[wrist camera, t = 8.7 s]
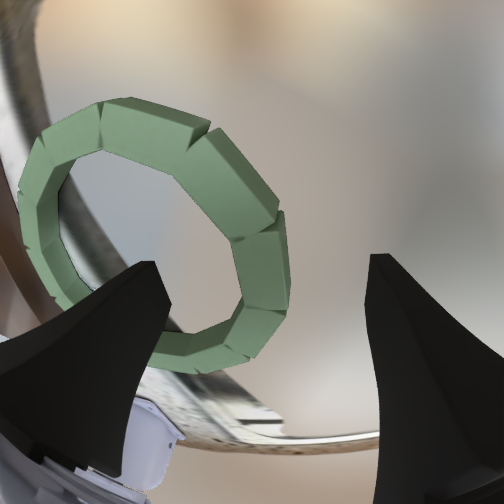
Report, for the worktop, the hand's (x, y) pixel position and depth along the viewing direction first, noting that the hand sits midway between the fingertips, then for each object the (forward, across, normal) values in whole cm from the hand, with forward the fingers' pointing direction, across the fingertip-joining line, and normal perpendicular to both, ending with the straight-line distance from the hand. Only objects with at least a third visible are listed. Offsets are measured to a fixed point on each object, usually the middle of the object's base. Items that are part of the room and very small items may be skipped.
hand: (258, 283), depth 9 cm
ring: (+2, +6, 0) cm, 6 cm away
